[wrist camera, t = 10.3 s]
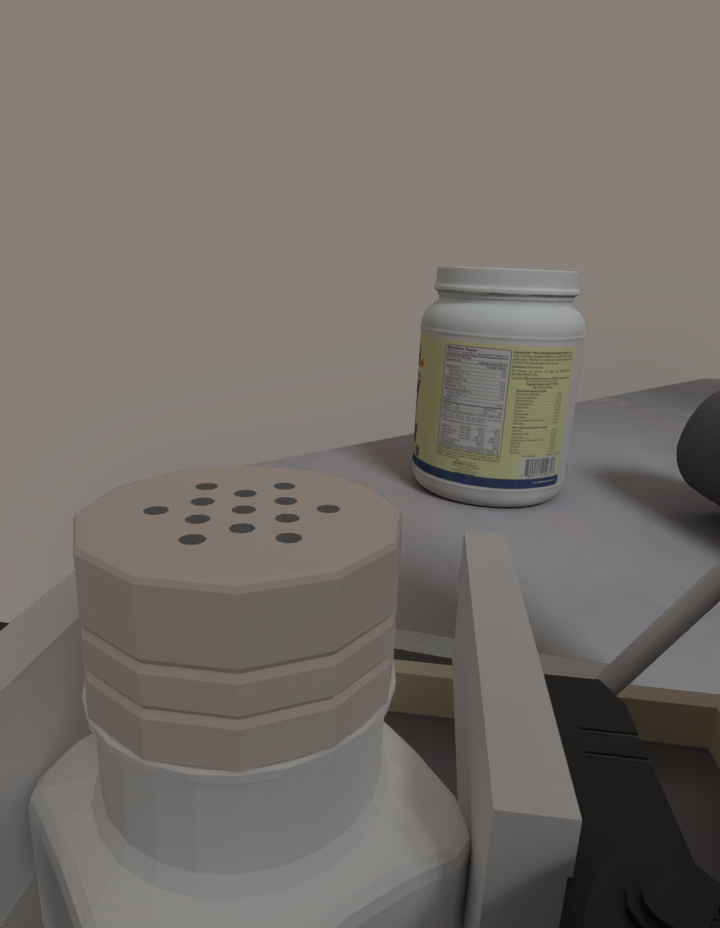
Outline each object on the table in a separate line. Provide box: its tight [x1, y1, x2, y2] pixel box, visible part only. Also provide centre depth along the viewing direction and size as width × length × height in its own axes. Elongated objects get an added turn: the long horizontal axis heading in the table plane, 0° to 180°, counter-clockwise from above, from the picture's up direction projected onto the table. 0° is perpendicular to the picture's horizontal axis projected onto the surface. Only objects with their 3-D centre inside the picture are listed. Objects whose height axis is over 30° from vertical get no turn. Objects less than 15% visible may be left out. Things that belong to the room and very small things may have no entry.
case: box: [384, 561, 720, 883], centre depth 14 cm, size 16×18×20 cm
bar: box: [394, 628, 609, 679], centre depth 28 cm, size 12×2×2 cm, turn 76°
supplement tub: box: [412, 266, 585, 507], centre depth 51 cm, size 12×12×17 cm
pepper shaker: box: [28, 465, 471, 928], centre depth 8 cm, size 4×4×10 cm
